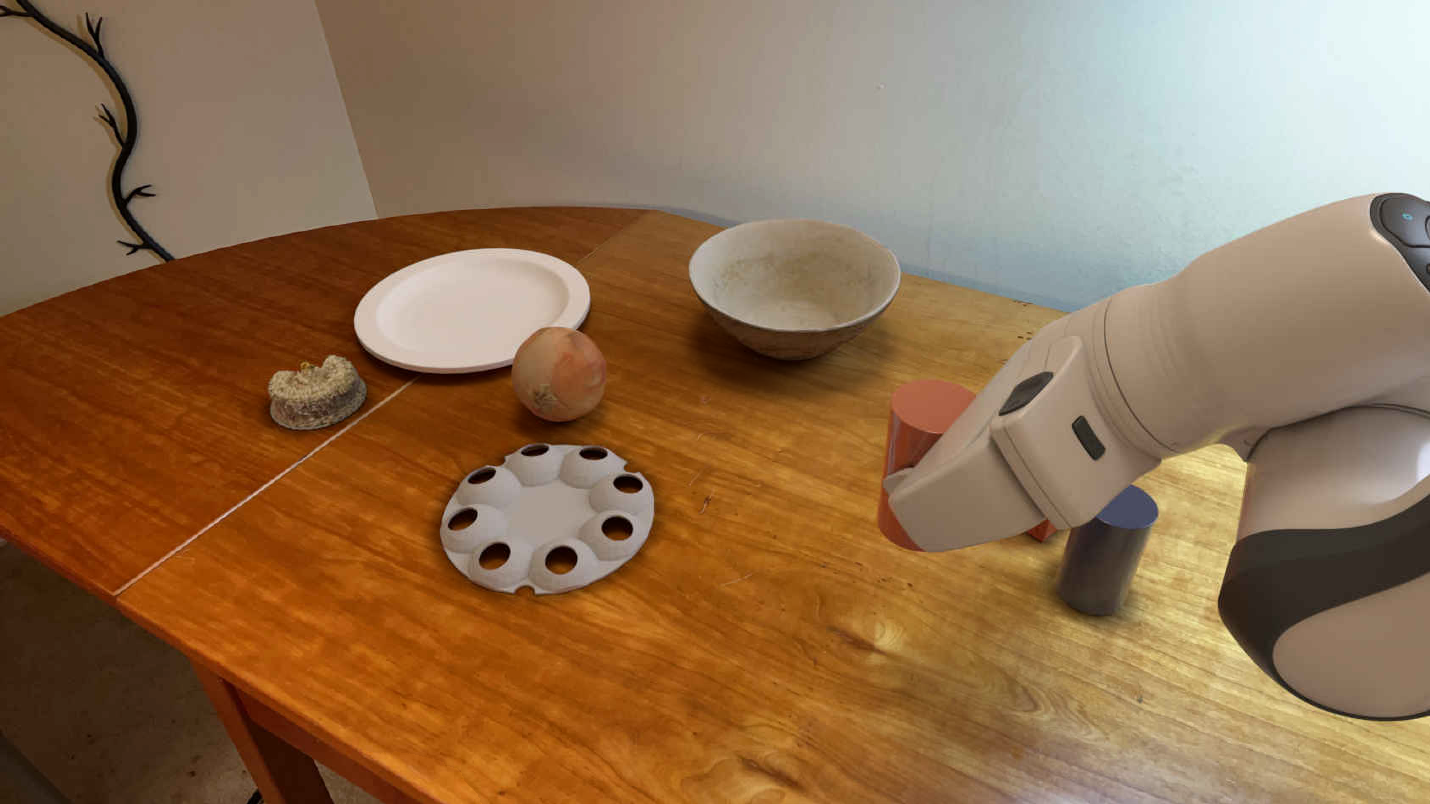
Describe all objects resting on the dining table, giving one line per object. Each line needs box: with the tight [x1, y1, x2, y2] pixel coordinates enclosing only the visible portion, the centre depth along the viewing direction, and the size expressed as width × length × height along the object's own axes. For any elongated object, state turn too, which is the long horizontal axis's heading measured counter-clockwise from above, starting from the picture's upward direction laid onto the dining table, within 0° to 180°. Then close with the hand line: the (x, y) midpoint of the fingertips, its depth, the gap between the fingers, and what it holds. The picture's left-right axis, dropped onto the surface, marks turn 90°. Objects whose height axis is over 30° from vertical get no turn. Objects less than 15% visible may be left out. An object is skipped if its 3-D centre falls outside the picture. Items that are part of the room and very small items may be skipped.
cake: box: [267, 354, 368, 431], centre depth 97 cm, size 10×10×5 cm
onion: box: [511, 327, 607, 423], centre depth 94 cm, size 10×10×10 cm
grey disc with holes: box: [439, 442, 655, 596], centre depth 84 cm, size 20×20×2 cm
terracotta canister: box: [875, 378, 977, 553], centre depth 59 cm, size 6×6×10 cm
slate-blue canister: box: [1054, 483, 1160, 616], centre depth 73 cm, size 6×6×10 cm
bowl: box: [688, 218, 902, 362], centre depth 105 cm, size 24×24×10 cm
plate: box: [353, 247, 591, 374], centre depth 111 cm, size 28×28×2 cm
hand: (918, 458), depth 59 cm, fingers closed on terracotta canister, 5 cm apart
